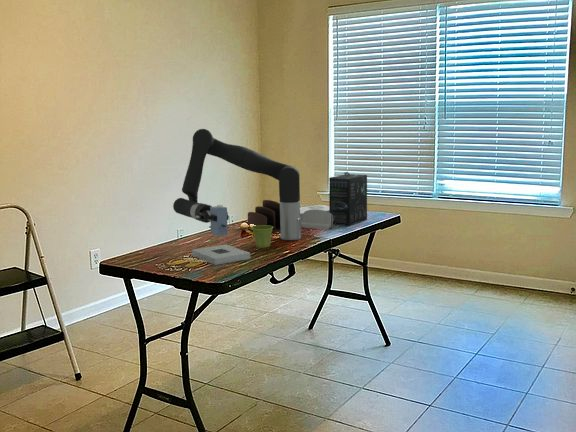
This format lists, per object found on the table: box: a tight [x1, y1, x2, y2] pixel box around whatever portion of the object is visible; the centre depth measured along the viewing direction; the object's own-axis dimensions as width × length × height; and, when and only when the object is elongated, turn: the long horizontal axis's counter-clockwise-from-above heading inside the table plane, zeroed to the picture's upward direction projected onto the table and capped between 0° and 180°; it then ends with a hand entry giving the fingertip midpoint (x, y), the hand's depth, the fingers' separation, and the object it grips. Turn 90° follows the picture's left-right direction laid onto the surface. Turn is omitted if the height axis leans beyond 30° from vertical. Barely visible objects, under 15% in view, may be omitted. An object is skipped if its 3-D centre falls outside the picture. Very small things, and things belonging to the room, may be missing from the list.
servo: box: [209, 204, 230, 237], centre depth 256 cm, size 10×4×12 cm, turn 35°
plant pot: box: [251, 225, 273, 249], centre depth 276 cm, size 9×9×9 cm
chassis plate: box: [191, 244, 251, 266], centre depth 259 cm, size 20×16×2 cm
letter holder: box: [247, 199, 280, 234], centre depth 315 cm, size 10×20×14 cm, turn 31°
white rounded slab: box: [300, 204, 329, 221], centre depth 345 cm, size 19×33×5 cm, turn 116°
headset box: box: [328, 171, 368, 227], centre depth 329 cm, size 22×12×26 cm, turn 149°
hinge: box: [301, 209, 334, 231], centre depth 318 cm, size 17×5×10 cm, turn 61°
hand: (222, 218), depth 254 cm, fingers closed on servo, 4 cm apart
